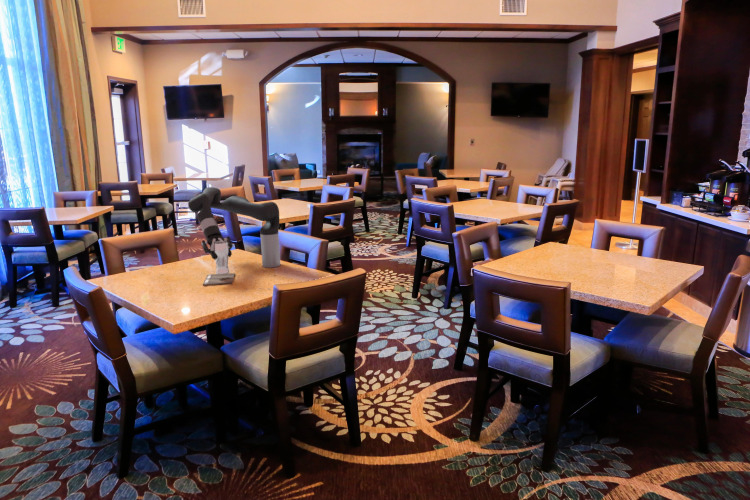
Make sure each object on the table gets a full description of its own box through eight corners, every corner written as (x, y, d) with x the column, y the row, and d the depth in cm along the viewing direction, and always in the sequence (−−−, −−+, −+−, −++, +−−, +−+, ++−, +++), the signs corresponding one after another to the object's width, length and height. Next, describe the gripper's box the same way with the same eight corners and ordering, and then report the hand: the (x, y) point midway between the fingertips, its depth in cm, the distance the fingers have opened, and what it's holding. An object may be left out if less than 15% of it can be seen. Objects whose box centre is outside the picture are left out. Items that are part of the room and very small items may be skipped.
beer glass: (212, 274, 257) (209, 243, 253) (221, 270, 263) (218, 240, 260) (224, 275, 254) (221, 244, 251) (233, 271, 261) (230, 241, 257)
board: (207, 276, 266) (207, 274, 266) (234, 274, 268) (234, 272, 268) (202, 285, 250) (202, 283, 250) (231, 284, 252) (231, 282, 252)
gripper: (222, 232, 269) (235, 259, 263) (194, 236, 260) (206, 264, 254) (226, 222, 264) (239, 250, 257) (197, 226, 255) (210, 255, 249)
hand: (222, 257), depth 256 cm, fingers closed on beer glass, 7 cm apart
